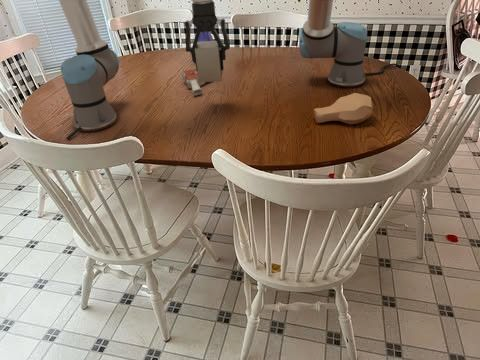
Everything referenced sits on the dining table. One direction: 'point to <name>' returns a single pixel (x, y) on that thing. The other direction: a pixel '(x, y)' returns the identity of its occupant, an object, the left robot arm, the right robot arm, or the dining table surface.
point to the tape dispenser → (192, 81)
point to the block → (208, 61)
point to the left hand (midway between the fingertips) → (210, 69)
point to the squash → (346, 109)
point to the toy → (204, 36)
